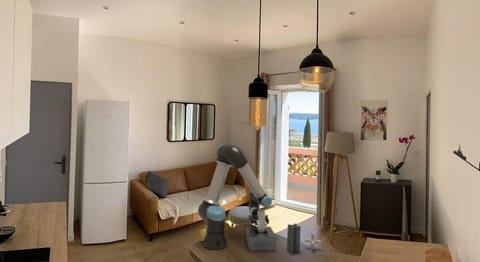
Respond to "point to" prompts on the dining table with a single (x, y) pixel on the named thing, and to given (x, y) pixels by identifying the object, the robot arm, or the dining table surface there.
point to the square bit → (261, 221)
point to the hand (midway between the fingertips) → (262, 226)
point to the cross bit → (293, 238)
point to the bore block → (261, 239)
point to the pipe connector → (312, 241)
